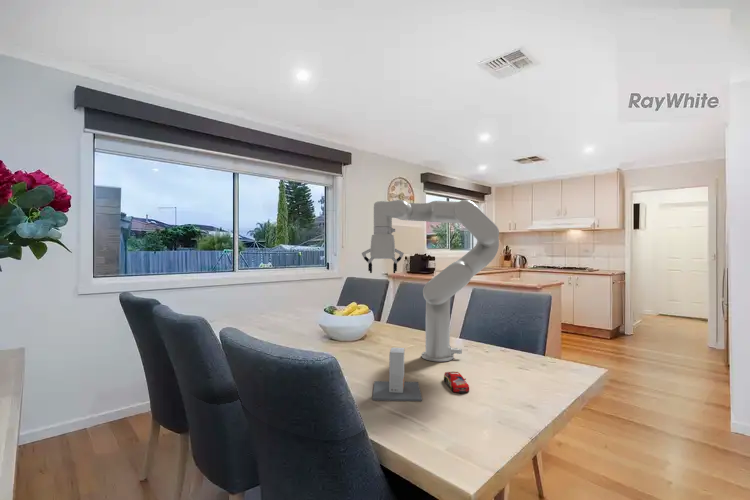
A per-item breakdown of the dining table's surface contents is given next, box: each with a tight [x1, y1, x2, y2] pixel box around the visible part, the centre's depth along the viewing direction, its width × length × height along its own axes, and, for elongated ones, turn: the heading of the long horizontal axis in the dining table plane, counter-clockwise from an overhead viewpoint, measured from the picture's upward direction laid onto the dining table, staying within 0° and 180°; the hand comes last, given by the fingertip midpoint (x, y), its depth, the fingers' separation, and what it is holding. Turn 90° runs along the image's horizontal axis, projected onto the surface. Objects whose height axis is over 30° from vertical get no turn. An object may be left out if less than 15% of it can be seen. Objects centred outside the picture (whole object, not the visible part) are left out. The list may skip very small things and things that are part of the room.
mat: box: [372, 380, 423, 402], centre depth 116 cm, size 14×14×1 cm
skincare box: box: [388, 347, 405, 393], centre depth 116 cm, size 6×4×12 cm
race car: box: [443, 371, 470, 394], centre depth 121 cm, size 13×5×4 cm, turn 4°
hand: (382, 272), depth 158 cm, fingers open, 9 cm apart
